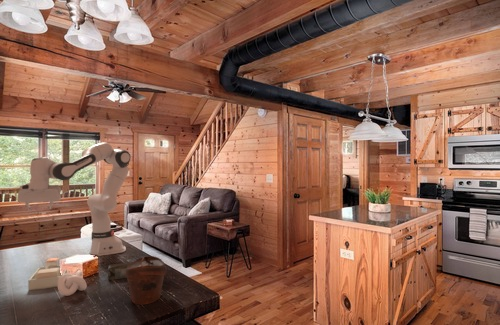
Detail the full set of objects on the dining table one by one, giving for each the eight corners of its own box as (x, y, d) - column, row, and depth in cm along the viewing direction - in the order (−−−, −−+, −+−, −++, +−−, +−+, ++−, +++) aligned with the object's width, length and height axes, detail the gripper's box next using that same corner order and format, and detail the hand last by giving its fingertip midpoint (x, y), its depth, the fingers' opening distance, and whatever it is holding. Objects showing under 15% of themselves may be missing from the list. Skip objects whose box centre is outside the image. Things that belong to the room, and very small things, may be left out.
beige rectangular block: (59, 279, 153) (59, 267, 152) (57, 284, 147) (57, 271, 147) (39, 282, 149) (39, 269, 149) (35, 287, 144) (35, 273, 144)
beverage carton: (108, 275, 162) (108, 263, 162) (145, 270, 169) (145, 259, 169) (107, 280, 154) (107, 268, 154) (146, 275, 161) (146, 263, 161)
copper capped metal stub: (58, 274, 159) (58, 257, 159) (56, 278, 155) (56, 260, 155) (47, 276, 157) (47, 258, 157) (45, 279, 153) (45, 261, 153)
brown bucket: (151, 284, 149) (151, 249, 149) (175, 297, 137) (175, 259, 136) (116, 298, 135) (116, 259, 135) (139, 313, 123) (139, 270, 122)
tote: (69, 273, 163) (69, 264, 163) (62, 286, 147) (62, 276, 146) (39, 276, 158) (39, 267, 158) (28, 290, 141) (28, 280, 141)
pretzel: (61, 288, 145) (61, 270, 144) (89, 284, 149) (89, 267, 149) (55, 298, 134) (55, 279, 134) (85, 294, 138) (85, 275, 138)
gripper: (62, 184, 175) (62, 207, 175) (20, 185, 167) (20, 209, 168) (59, 185, 169) (59, 209, 169) (16, 186, 162) (16, 211, 162)
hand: (39, 209), depth 168 cm, fingers open, 8 cm apart
